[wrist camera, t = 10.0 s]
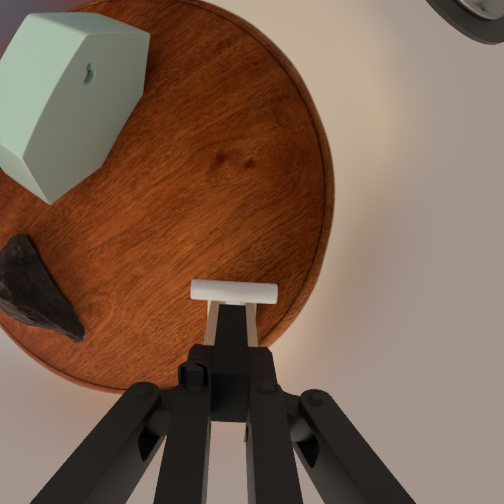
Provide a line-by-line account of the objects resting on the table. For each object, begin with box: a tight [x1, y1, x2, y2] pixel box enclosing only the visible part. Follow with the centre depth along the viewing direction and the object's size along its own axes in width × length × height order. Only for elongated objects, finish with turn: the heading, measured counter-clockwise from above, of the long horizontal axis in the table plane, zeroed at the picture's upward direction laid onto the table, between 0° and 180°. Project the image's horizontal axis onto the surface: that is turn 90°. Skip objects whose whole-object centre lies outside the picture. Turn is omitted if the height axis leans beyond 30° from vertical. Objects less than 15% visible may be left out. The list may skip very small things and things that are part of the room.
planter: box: [0, 12, 150, 205], centre depth 25 cm, size 17×8×21 cm
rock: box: [0, 234, 86, 342], centre depth 35 cm, size 7×18×9 cm, turn 31°
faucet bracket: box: [203, 300, 258, 347], centre depth 34 cm, size 6×6×14 cm
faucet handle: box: [191, 279, 278, 305], centre depth 26 cm, size 12×6×2 cm, turn 176°
